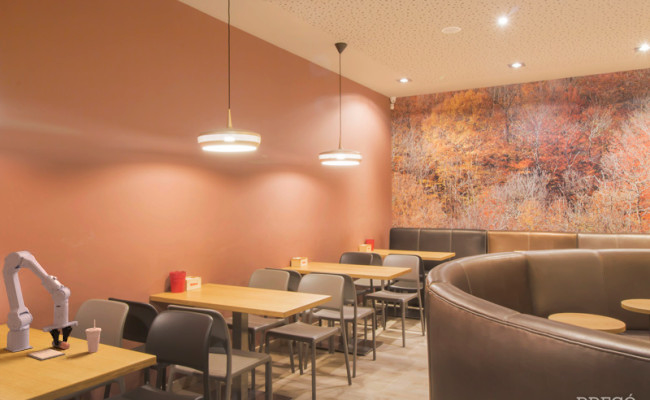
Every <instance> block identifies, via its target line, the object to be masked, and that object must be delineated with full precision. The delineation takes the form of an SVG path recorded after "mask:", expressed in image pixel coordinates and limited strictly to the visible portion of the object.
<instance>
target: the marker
mask: <svg viewBox="0 0 650 400" xmlns="http://www.w3.org/2000/svg"><path fill="white" fill-rule="evenodd" d="M51 345H52V346H53V347H54V348H55V347H56V348H59V349H62V350H68V349H69V348H70V345H71V344H70V343H69V342H68V341H67V342H64V341H63V340H60V339H59V345H58V346H55V344H54V340H52V341H51Z"/></svg>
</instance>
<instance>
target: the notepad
mask: <svg viewBox="0 0 650 400" xmlns="http://www.w3.org/2000/svg"><path fill="white" fill-rule="evenodd" d="M26 356H28V357H30V358H32V359H36V360H39V361H46V360H51V359H54V358H57V357H62V356H66V353H64V352H61V351H58V350H56V349H52V348H47V349H43V350H39V351H34V352H30V353H28V354H26Z"/></svg>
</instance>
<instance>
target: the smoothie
mask: <svg viewBox="0 0 650 400" xmlns="http://www.w3.org/2000/svg"><path fill="white" fill-rule="evenodd" d="M84 332H85V334H86V335H85V336H86V341H87V342H86V343H87V344H86V345H87V350H88V353H91V354H93V353H97V352H98V351H99V347H100V346H99V345H100V340H101V339H100V338H101V332H102V327H96V319H93V327H91V328H87V329H85V331H84Z"/></svg>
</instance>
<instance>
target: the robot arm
mask: <svg viewBox="0 0 650 400" xmlns="http://www.w3.org/2000/svg"><path fill="white" fill-rule="evenodd" d="M3 262H4V264H3V266H2V267H3V268H2V273H1V274H2V279H3V282H4V287H5V291H6V296H7V299H8V301H7V302H8V304H9V309H10V310H9V311H8V313H7V321H6V327H7V328H8V330H9V331H8V332H7V334H6V347H4V350H7V351H9V352H13V353H16V352H19V351H23V350H29V349H33V348H34V346H33V345H30V325H31V324H32V323H33V318H34V317H33V315H32V314H31V312H30V311H29V308H28V307H26V306H25V302H24V298H23V292H22V287H21V283H20V278H19V272H20V271H21V269H22V268H26V269H29V270H30V272H32V273H33V274H34V275H35V276H36V277H37V278H38V279H40V281H41V283H40V285H41V286H43V288H45V290H46V291H47V292H48V293H49V294H51V295H50V297H51V300H52V301H53V324H50V325H47V326H43V327H42V332H43V333H48V332H49V334H50V335H51V338H52V339H53V340H54V344H55V346H58V345H59V340H60V334H61V333H62V341H64V342H67V343H68V340H69V336H70V334H71V332H72V331H73V327H74V326H75V327H76V326H77V327H78V326H79V321H78V320H74V321H69V298H70V297H71V294H72V292H71V290H70V288H69V287H67V286H65V285H64V284H62V283H61V282H60V281H59V280H58V277H57V276H54V275H53V274H52V275H50V274H48V273H47V272H46V270H45V269H44V268H43V266H41V264H40V263H39V262H38V261H37V260H36V257H35V256H34V255H32V253H31V252H30V251H28V250H20V251H12V252H9V253H8V254H7V255H6V256H5V257H4V258H3ZM60 330H61V331H60ZM53 340H52V341H53ZM55 346H54V347H55Z"/></svg>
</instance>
